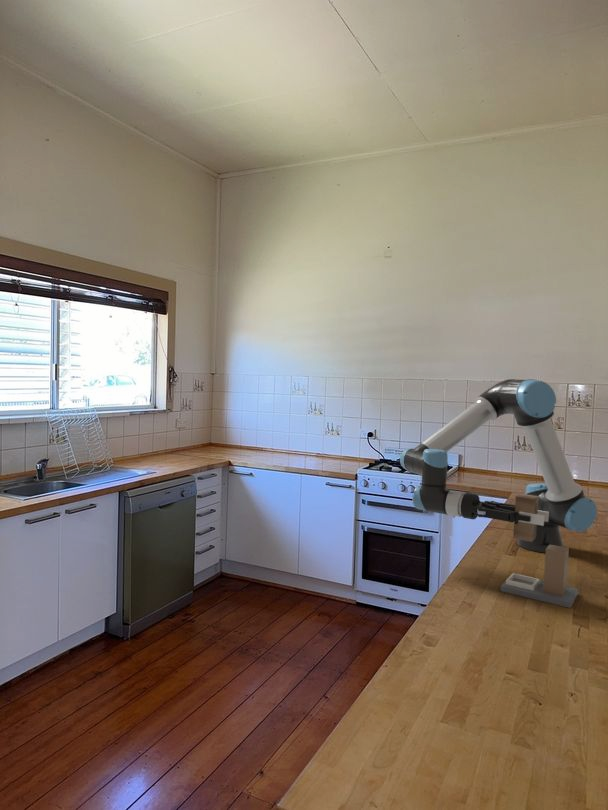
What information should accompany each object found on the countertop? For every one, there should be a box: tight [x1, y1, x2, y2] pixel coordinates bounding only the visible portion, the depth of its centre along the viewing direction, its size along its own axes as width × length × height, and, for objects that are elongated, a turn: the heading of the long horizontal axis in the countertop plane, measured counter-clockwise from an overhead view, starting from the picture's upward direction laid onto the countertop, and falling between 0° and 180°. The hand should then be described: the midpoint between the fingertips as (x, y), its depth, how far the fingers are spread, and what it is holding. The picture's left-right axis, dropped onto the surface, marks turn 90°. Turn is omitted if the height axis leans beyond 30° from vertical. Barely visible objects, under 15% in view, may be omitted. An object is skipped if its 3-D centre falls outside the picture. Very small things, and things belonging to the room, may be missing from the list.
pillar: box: [512, 493, 539, 542], centre depth 158 cm, size 5×5×12 cm
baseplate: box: [500, 544, 579, 609], centre depth 157 cm, size 12×18×14 cm, turn 55°
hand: (545, 518), depth 155 cm, fingers closed on pillar, 5 cm apart
